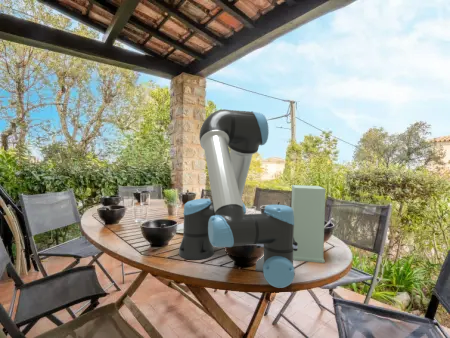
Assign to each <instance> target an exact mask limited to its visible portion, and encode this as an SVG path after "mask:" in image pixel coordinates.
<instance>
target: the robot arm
mask: <svg viewBox="0 0 450 338" xmlns="http://www.w3.org/2000/svg"><path fill="white" fill-rule="evenodd" d="M198 138H199V145H200V147H201V148H202V149H203V150H204V155H205V161H206V169H207V173H208V174H207V175H208V180H209V187H210V193H211V198H212V200H211V199H210V198H197V199H192V200H188V201H187V202H185V203H184V205H183V206H184V207H183V236H182V239H181V242H180V245H179V249H178V254H179V255H178V256H180V257H182V258H183V259H187V260H204V259H208V258H211V257H212V256H213V255H214V253H215V251H214V249H215V247H216V248H232V247H239V246H249V245H250V246H252V245H255V248H257V249H260V248H263V252H264V264H263V271H262V272H263V277H264V279H265V280H266V281H265V282H266V283H268V284H269V285H270V286H272V287H274V288H278V289H280V288H281V289H282V288H283V289H284V288H286V287H289V285H291V284H292V283H293V281H294V278H295V275H294V272H295V266H294V260H293V250H294V251H297V248H298V243H297V242H295V240H294V237H293V234H294V211H293V209H292V208H291V206H289V205H284V204H267V205H266V206H265V207H264V211H263V213H247V208H246V205H245V203H244V201H243V200H242V197H243V194H244V189H245V186H246V181H247V177H248V174H249V169H250V166H251V162H252V159H253V155H254V154H256V153H258V150H259V149H260V148H259V147H260V146H264V145H266V143H267V142H268V139H269V123H268V120H267V118H266V116H265V115H264V113H260V112H256V111H246V110H232V109H220V110H219V109H218V110H216V111H214V112H212V113H211V114H209V115H208V116H207V118H206V119H205V120H204V121H203V123H202V125H201V127H200V130H199V137H198ZM246 213H247V214H246Z"/></svg>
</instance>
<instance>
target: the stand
mask: <svg viewBox="0 0 450 338" xmlns="http://www.w3.org/2000/svg"><path fill="white" fill-rule="evenodd" d="M290 207H291V208H292V209H293V211H294V234H293V237H294V240H295V242H297V243H298V248H297V251H294V250H293V261H298V262H309V263H317V264H318V263H319V264H325V263H326V262H325V259H324V251H325V250H324V248H325V244H324V243H325V221H326V220H325V216H326V215H325V213H326V210H325V209H326V188H324V187H323V186H320V185H303V184H301V185H300V184H299V185H298V184H292V185H291V206H290Z"/></svg>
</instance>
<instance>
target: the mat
mask: <svg viewBox="0 0 450 338" xmlns="http://www.w3.org/2000/svg"><path fill="white" fill-rule="evenodd" d="M263 264H264V256H263V257H262V258H261V259H259V260H258V261H257V260H256V264H255V272H263ZM295 274H296V273H295V271H294V276H295Z"/></svg>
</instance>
